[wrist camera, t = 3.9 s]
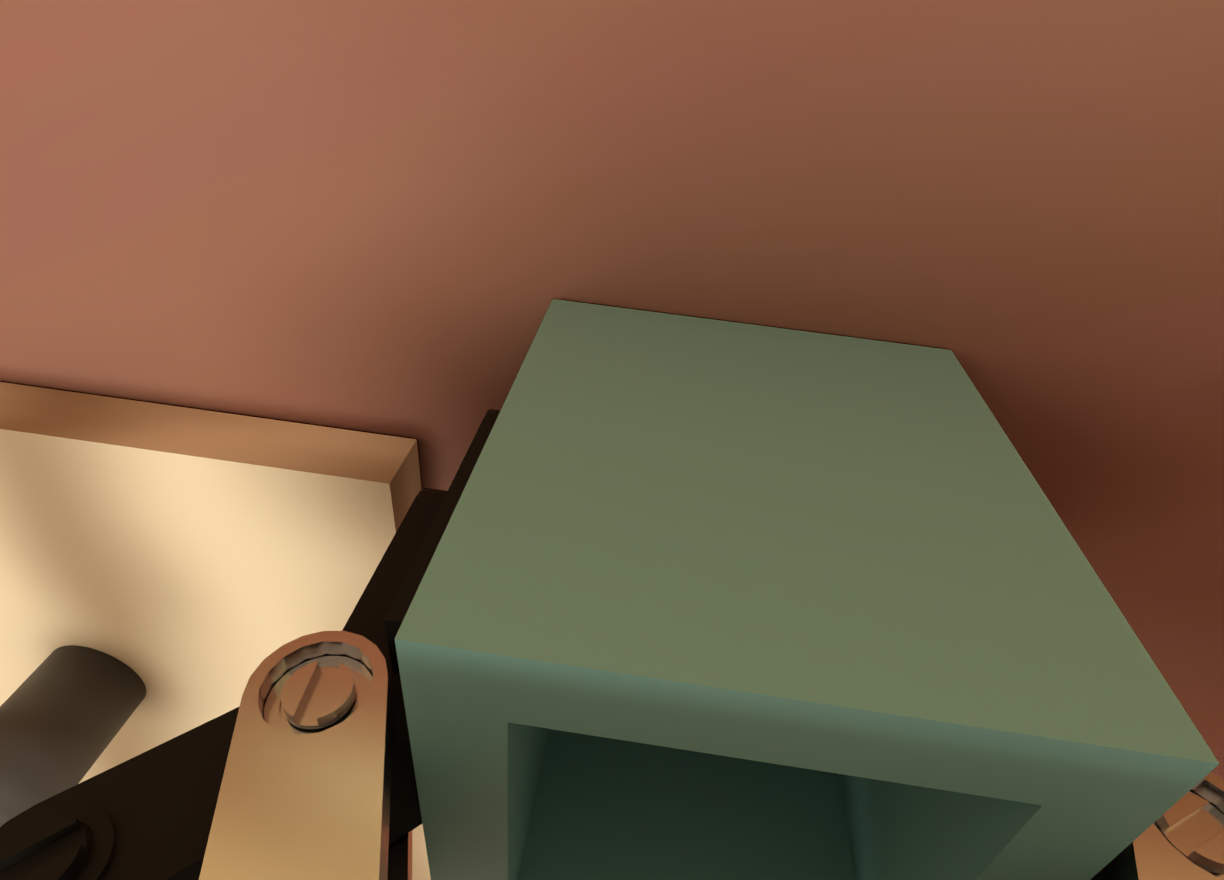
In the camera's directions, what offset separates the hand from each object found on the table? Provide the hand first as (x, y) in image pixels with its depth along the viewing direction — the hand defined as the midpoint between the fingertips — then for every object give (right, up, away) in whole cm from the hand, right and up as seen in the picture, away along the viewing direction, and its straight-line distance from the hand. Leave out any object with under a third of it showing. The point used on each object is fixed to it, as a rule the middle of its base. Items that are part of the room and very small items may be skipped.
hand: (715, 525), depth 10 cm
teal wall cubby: (0, +1, +1) cm, 1 cm away
